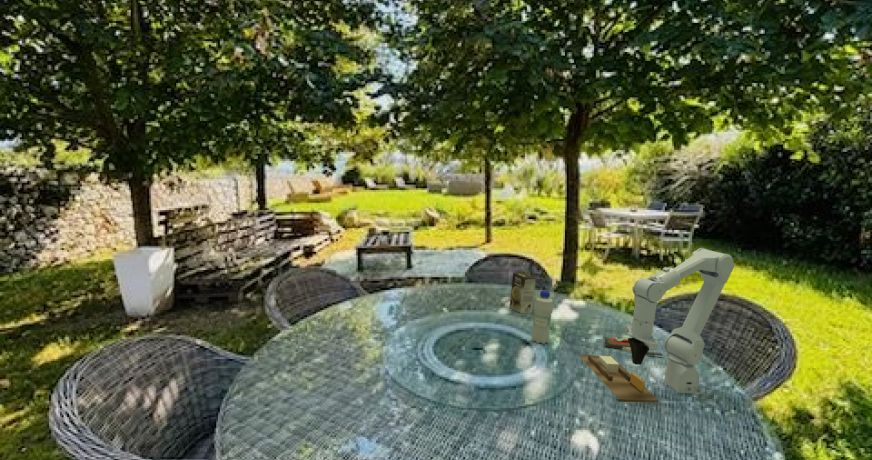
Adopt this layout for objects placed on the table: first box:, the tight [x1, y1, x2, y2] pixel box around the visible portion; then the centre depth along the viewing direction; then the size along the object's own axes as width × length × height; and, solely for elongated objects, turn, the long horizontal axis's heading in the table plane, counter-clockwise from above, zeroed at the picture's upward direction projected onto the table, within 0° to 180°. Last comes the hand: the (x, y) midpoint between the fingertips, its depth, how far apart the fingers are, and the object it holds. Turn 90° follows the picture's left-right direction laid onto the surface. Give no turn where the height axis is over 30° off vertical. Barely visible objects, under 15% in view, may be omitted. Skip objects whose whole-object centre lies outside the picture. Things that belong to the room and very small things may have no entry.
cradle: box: [578, 354, 659, 404], centre depth 155 cm, size 30×12×2 cm, turn 6°
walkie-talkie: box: [604, 336, 664, 357], centre depth 179 cm, size 9×4×20 cm
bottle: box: [531, 289, 554, 345], centre depth 178 cm, size 7×7×20 cm
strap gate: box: [630, 372, 646, 391], centre depth 148 cm, size 1×6×3 cm, turn 10°
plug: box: [598, 355, 620, 373], centre depth 160 cm, size 6×4×3 cm, turn 6°
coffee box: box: [509, 271, 537, 314], centre depth 215 cm, size 9×6×16 cm
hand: (636, 363), depth 144 cm, fingers closed
